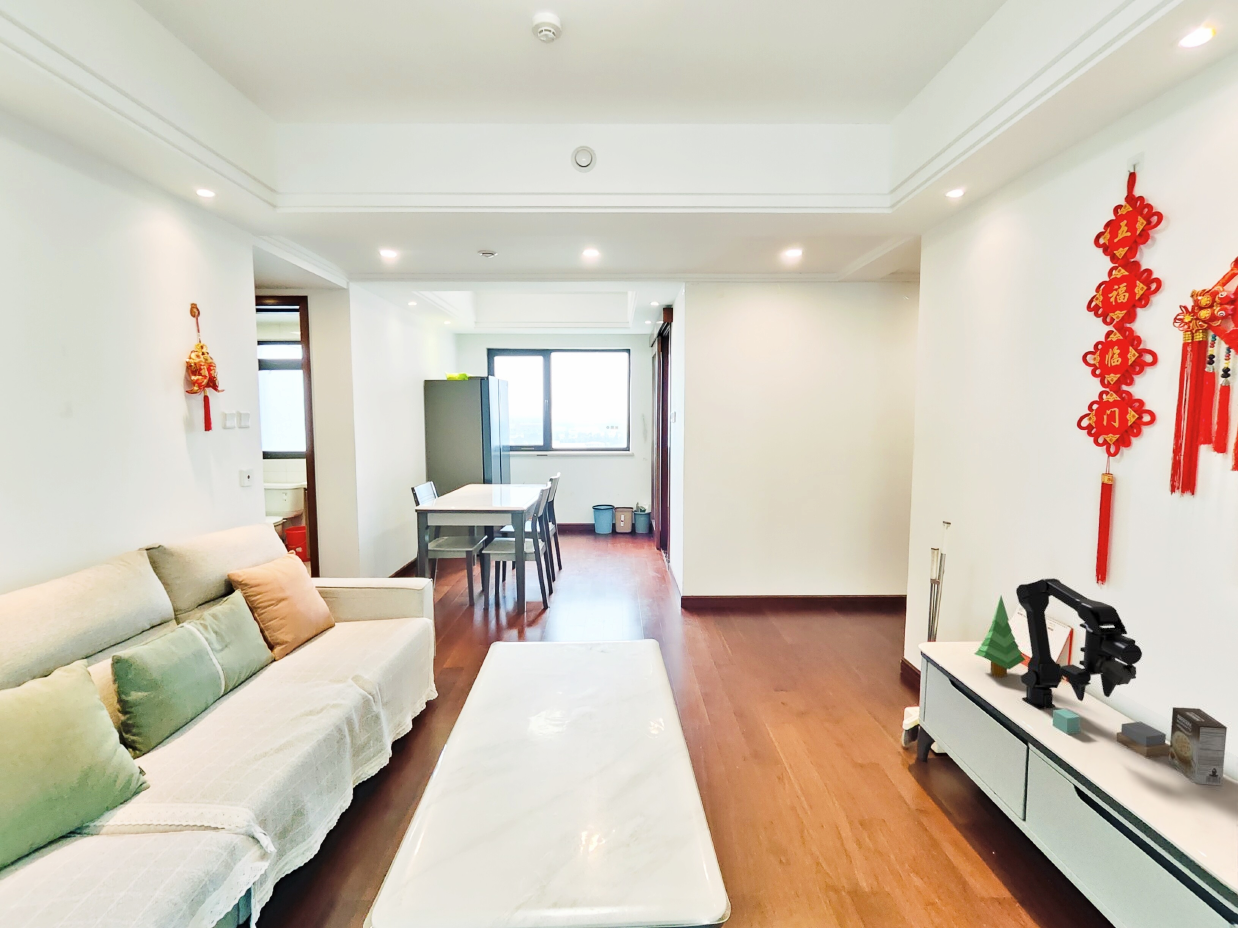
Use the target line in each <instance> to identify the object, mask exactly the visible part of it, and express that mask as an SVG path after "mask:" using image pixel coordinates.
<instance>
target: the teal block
mask: <svg viewBox="0 0 1238 928" xmlns="http://www.w3.org/2000/svg"><path fill="white" fill-rule="evenodd" d="M1080 726H1081V716H1080V715H1078V714H1076V713H1074V712H1073V711H1071V710H1069V709H1067V708H1064V709H1063V708H1061V709H1055V710H1052V727H1054V728H1055V729H1057V730H1059V731H1060V732H1062V733H1064V734H1066V735H1069V734H1070V735H1071V734H1077V733H1078V734H1079V733H1080V730H1081V729H1080V728H1081V727H1080Z"/></svg>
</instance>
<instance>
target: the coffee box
mask: <svg viewBox="0 0 1238 928" xmlns="http://www.w3.org/2000/svg"><path fill="white" fill-rule="evenodd" d="M1170 727H1171V728H1170V729H1171V731H1170V744H1169V745H1170V754H1169V756H1168V758H1169V760H1168V762H1169V763H1170V764H1171V765H1172V766H1174V767H1175V768H1176V769H1177V770H1178V771H1179V772H1181V773H1182V774H1183V775H1184V776H1185V777H1186V778H1188V779H1189V780H1190V781H1191V782H1193V783H1194V784H1196V785H1198V784H1199V785H1210V786H1222V785H1223V777H1224V776H1223V775H1224V766H1225V755H1226V753H1225V752H1226V743H1227V742H1226V741H1227V733H1228V732H1227V731H1228V730H1227V729H1228V727H1227V726H1226V725H1224V724H1222V723H1221V722H1220V721H1218V720H1217V719H1215V718H1214V717H1213V716H1211V715H1209V714H1208V713H1206V712H1205V711H1204V710H1202V709H1201V708H1193V707H1176V706H1175V707H1172V716H1171V726H1170Z"/></svg>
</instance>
